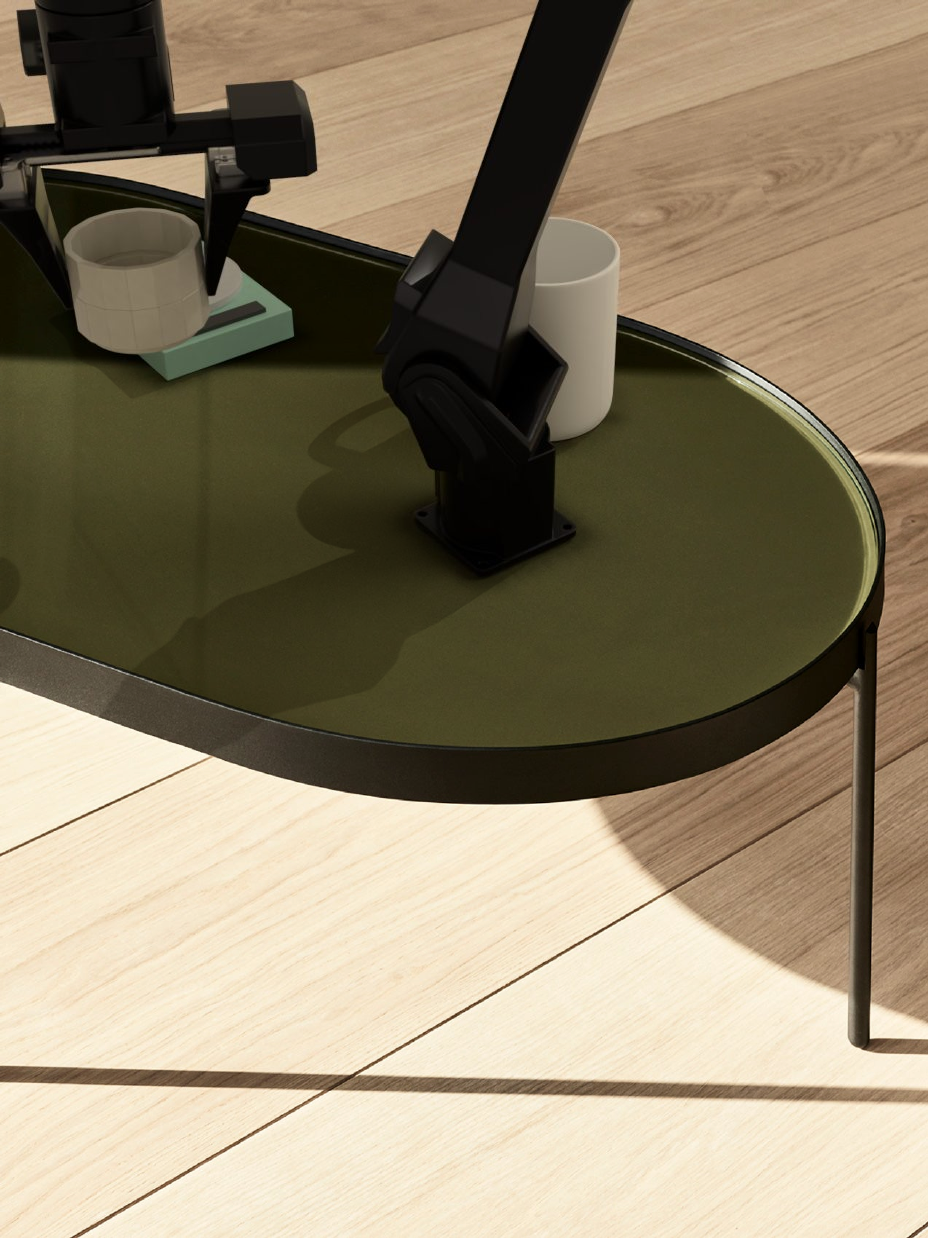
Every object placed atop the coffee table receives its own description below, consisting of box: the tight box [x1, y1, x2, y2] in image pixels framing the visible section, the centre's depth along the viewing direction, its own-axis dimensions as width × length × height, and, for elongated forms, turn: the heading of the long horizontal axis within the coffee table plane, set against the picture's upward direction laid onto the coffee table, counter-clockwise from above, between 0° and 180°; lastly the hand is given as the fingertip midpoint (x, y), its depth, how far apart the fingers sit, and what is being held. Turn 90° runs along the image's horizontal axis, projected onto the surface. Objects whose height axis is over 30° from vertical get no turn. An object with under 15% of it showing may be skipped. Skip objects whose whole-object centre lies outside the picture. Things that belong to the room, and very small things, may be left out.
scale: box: [137, 240, 295, 381], centre depth 107 cm, size 12×9×3 cm
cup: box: [529, 216, 621, 442], centre depth 97 cm, size 8×12×10 cm
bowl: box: [62, 207, 210, 355], centre depth 86 cm, size 7×7×5 cm
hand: (141, 298), depth 87 cm, fingers closed on bowl, 7 cm apart
